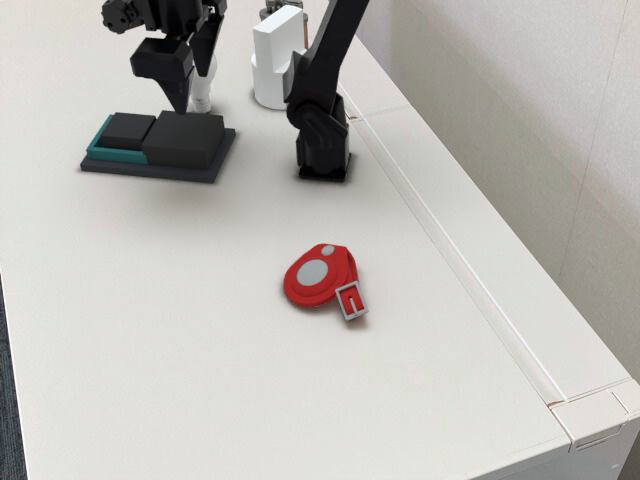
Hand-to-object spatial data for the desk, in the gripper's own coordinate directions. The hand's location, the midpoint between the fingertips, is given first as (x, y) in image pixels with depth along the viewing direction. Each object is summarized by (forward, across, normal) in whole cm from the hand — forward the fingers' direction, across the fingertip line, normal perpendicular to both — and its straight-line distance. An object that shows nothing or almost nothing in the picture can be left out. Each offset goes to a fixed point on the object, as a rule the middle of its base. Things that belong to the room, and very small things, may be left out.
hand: (192, 94), depth 98 cm
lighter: (+12, -33, +4) cm, 35 cm away
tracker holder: (+12, +21, +21) cm, 32 cm away
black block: (+11, -4, -12) cm, 17 cm away
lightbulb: (+12, -15, -5) cm, 20 cm away
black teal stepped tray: (+12, -4, -8) cm, 15 cm away
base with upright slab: (+12, -22, +6) cm, 26 cm away
